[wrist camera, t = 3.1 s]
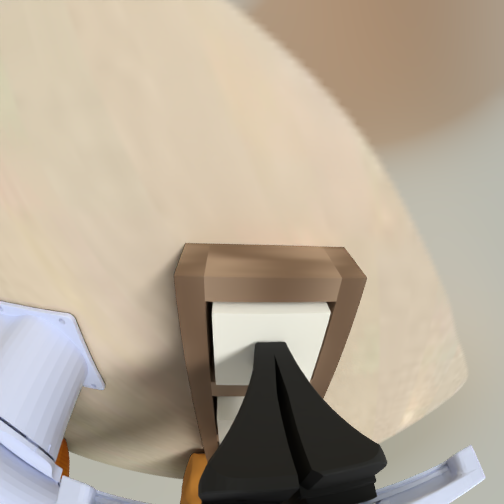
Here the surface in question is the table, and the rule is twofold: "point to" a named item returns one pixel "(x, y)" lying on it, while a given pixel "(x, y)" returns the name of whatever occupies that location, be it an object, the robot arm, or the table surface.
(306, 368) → the tile one
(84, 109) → the table surface
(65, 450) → the carrot
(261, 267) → the tile board
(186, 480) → the coffee package
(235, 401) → the tile three
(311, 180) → the table surface
